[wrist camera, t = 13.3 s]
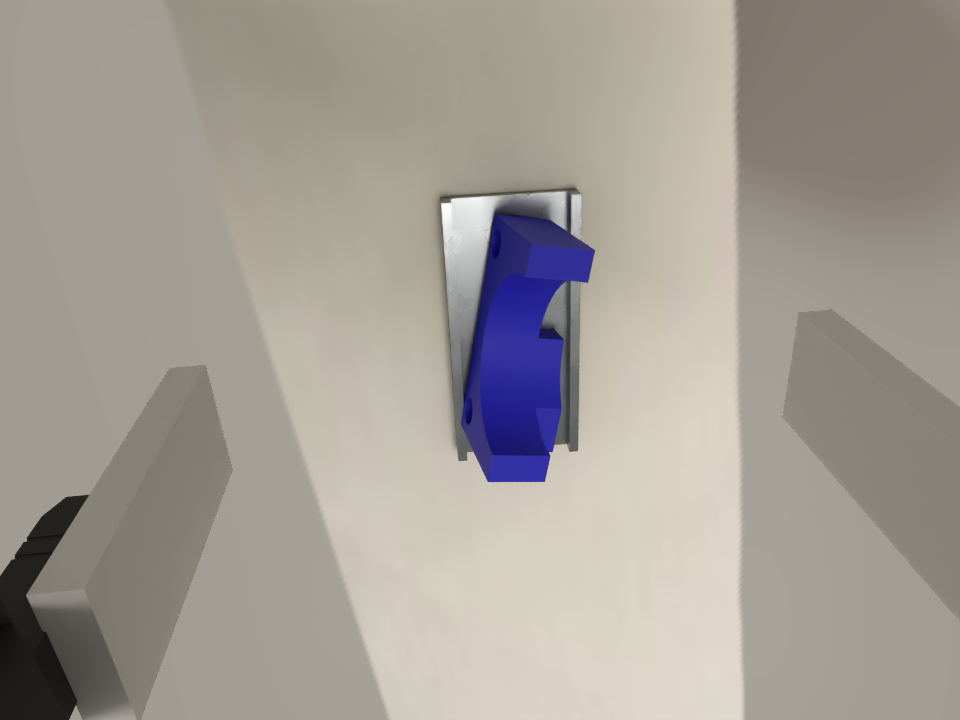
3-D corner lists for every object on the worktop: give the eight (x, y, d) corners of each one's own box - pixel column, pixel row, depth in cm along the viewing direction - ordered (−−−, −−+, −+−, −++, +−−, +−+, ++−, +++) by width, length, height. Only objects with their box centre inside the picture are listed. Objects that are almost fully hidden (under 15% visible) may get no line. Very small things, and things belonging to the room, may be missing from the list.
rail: (440, 197, 37) (441, 203, 36) (575, 188, 38) (581, 194, 37) (457, 448, 44) (458, 461, 43) (573, 438, 44) (577, 450, 43)
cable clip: (535, 425, 43) (572, 481, 37) (460, 424, 41) (487, 481, 36) (577, 222, 38) (625, 253, 33) (495, 213, 37) (531, 244, 32)
